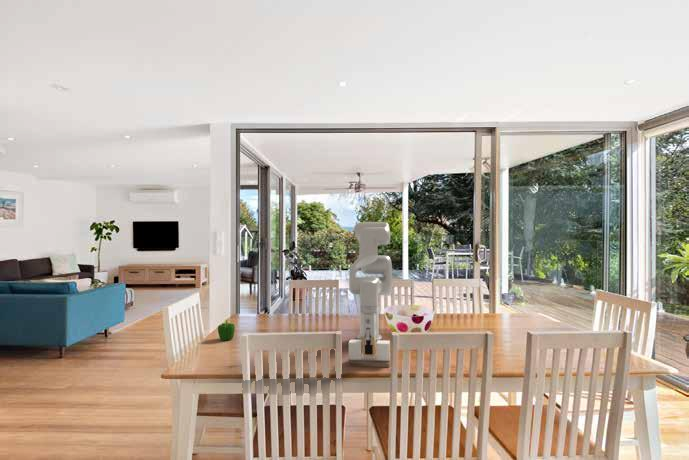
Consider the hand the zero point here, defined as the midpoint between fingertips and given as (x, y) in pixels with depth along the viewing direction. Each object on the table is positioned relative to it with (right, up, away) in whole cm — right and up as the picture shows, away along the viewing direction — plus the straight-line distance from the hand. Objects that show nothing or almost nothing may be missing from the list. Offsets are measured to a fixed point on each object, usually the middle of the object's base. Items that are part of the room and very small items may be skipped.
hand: (369, 351), depth 178 cm
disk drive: (-3, -5, +23) cm, 23 cm away
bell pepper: (-71, -5, +39) cm, 81 cm away
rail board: (0, -5, 0) cm, 5 cm away
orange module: (0, -1, 0) cm, 1 cm away
